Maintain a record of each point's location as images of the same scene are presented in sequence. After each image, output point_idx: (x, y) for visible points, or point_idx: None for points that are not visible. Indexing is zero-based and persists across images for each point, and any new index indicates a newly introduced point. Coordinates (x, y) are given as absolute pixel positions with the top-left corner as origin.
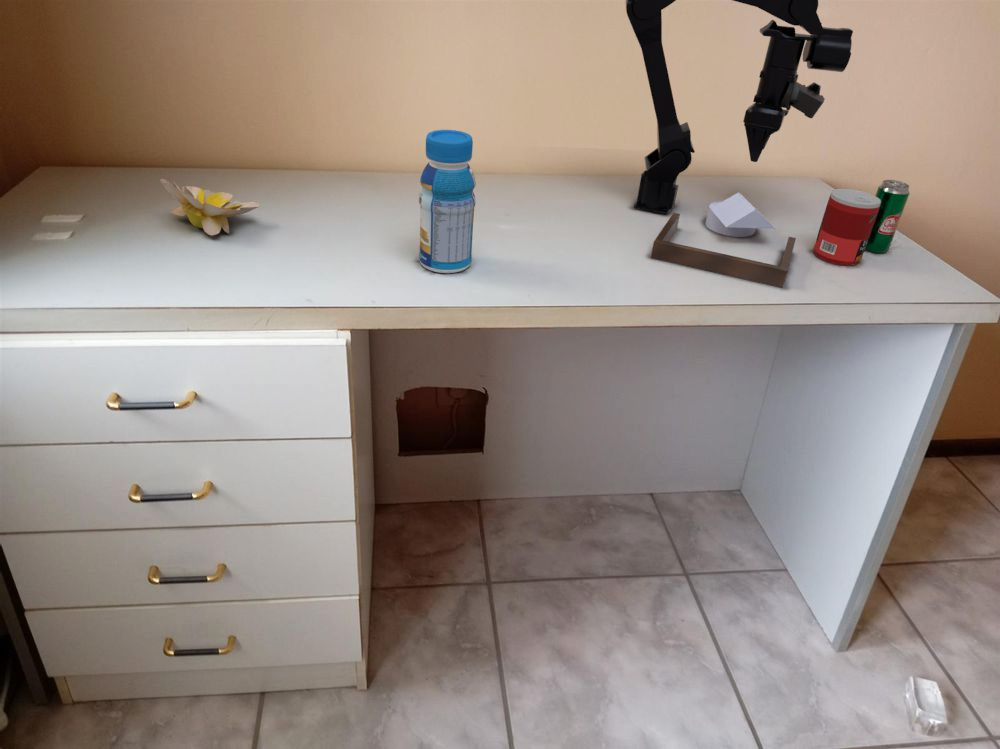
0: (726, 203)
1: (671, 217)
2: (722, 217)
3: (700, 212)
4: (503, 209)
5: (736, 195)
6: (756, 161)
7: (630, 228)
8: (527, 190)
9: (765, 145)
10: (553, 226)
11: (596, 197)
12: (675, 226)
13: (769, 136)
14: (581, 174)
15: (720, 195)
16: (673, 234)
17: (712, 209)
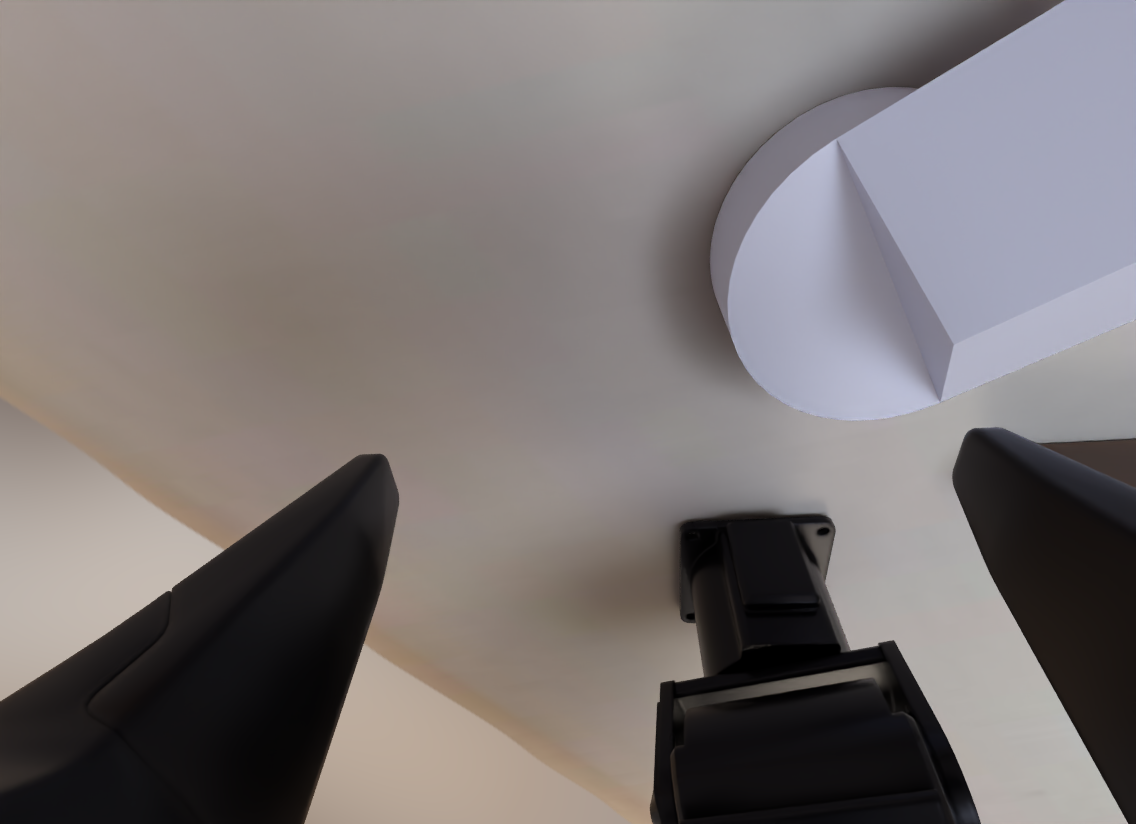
0: (996, 356)
1: None
2: (1133, 316)
3: (699, 416)
4: (991, 805)
5: (980, 340)
6: (1004, 432)
7: None
8: None
9: (362, 475)
10: None
11: None
12: (1093, 466)
13: (298, 549)
14: (564, 760)
15: (382, 396)
16: (1081, 443)
17: (959, 393)
